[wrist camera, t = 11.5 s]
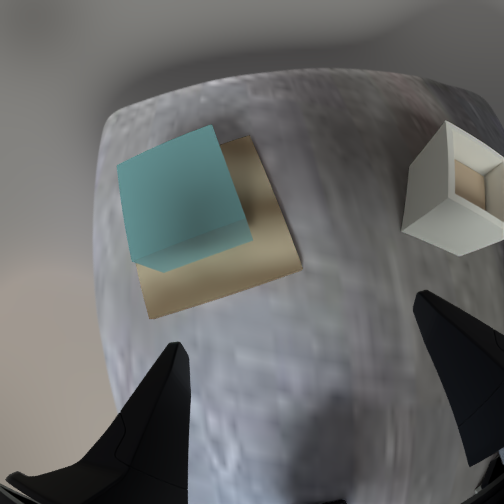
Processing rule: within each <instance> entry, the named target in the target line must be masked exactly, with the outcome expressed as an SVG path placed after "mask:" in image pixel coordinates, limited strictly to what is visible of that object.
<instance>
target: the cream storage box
mask: <svg viewBox="0 0 504 504" xmlns="http://www.w3.org/2000/svg"><path fill="white" fill-rule="evenodd" d="M401 232H403V233H406V234H408V235H411V236H413V237H415V238H418V239H420V240H423V241H425V242H427V243H430V244H432V245H434V246H437V247H439V248H441V249H444V250H446V251H448V252H450V253H452V254H455V255H457V256H462V255H465V254H467V253H470V252H473V251H476V250H478V249H481V248H484V247H486V246H489V245H491V244H494V243H496V242H499V241H501V240H504V157H503V156H501V155H500V154H498V153H497V152H496V151H494V150H493V149H491V148H490V147H489V146H487V145H486V144H484V143H483V142H481V141H479V140H478V139H476V138H475V137H473V136H472V135H470V134H468V133H467V132H465V131H463V130H462V129H460V128H458V127H457V126H455V125H453V124H451V123H449V122H448V121H446V120H445V122H444V123H443V124H442V126H441V127H440V128H439V130H438V131H437V132H436V134H435V135H434V136H433V137H432V139H431V140H430V141H429V142H428V144H427V145H426V146H425V147H424V149H423V150H422V151H421V152H420V154H419V155H418V156H417V157H416V159H415V160H414V161H413V162H412V163H411V165H410V166H409V174H408V184H407V193H406V201H405V208H404V215H403V222H402V228H401Z"/></svg>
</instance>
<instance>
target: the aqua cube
mask: <svg viewBox="0 0 504 504" xmlns="http://www.w3.org/2000/svg"><path fill="white" fill-rule="evenodd" d="M117 172H118V181H119V189H120V197H121V204H122V211H123V217H124V223H125V229H126V234H127V240H128V245H129V250H130V255H131V260H132V262H135V263H137V264H140V265H143V266H146V267H148V268H151V269H154V270H157V271H160V272H163V273H165V272H168V271H170V270H173V269H176V268H178V267H181V266H184V265H187V264H189V263H192V262H195V261H198V260H200V259H203V258H206V257H209V256H211V255H214V254H217V253H220V252H222V251H225V250H228V249H231V248H234V247H236V246H239V245H242V244H245V243H248V242H250V241H253V238H252V235H251V232H250V229H249V226H248V223H247V220H246V217H245V214H244V211H243V209H242V206H241V203H240V200H239V198H238V195H237V192H236V189H235V187H234V184H233V181H232V178H231V176H230V173H229V170H228V167H227V165H226V162H225V159H224V156H223V154H222V151H221V148H220V145H219V143H218V140H217V137H216V135H215V132H214V129H213V126H212V124H211V125H208V126H206V127H203V128H200V129H198V130H195V131H192V132H190V133H187V134H185V135H182V136H180V137H177V138H175V139H172V140H170V141H168V142H165V143H163V144H161V145H158V146H156V147H154V148H152V149H150V150H147V151H145V152H143V153H141V154H139V155H137V156H135V157H133V158H131V159H129V160H127V161H125V162H123V163H121V164H119V165H117Z"/></svg>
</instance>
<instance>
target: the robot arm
mask: <svg viewBox="0 0 504 504" xmlns="http://www.w3.org/2000/svg"><path fill="white" fill-rule="evenodd" d="M413 313H414V315H415V318H416V321H417V323H418V326H419V329H420V332H421V334H422V337H423V340H424V343H425V345H426V348H427V350H428V352H429V354H430V356H431V359H432V361H433V363H434V366H435V368H436V370H437V373H438V375H439V377H440V380H441V382H442V385H443V387H444V390H445V392H446V395H447V397H448V400H449V403H450V406H451V408H452V411H453V414H454V417H455V420H456V423H457V426H458V429H459V433H460V436H461V439H462V442H463V446H464V449H465V453H466V457H467V461H468V464H469V467H471V466H473V465H475V464H477V463H479V462H480V461H482V460H484V459H486V458H487V457H489V456H491V455H492V454H494V453H496V452H497V451H498V453H499V455H498V456H497V457H496V458H494V459H493V460H492V461H490V464H489V466H488V469H487V472H486V474H485V477H484V479H483V482H482V484H481V489H482V490H481V491H479V492H478V493H476V494H475V495H473V496H472V497H470V498H469V499H467V500H466V501H464V502H463V503H461V504H504V335H503V334H501V333H499V332H498V331H496V330H493V328H491V327H490V326H488V325H486V324H485V323H483V322H481V321H480V320H478V319H477V318H475V317H473V316H472V315H470V314H468V313H467V312H465V311H463V310H461V309H460V308H458V307H456V306H455V305H453V304H451V303H449V302H448V301H446V300H444V299H442V298H441V297H439V296H437V295H435V294H434V293H432V292H430V291H428V290H423V291H420V292H418V293H417V294H416V298H415V302H414V305H413ZM190 404H191V387H190V367H189V356H188V354H187V352H186V351H185V349H184V347H183V345H182V344H181V343H180V342H171V343H169V344H168V345H167V346H166V348H165V349H164V351H163V352H162V353H161V355H160V356H159V357H158V359H157V360H156V362H155V363H154V364H153V366H152V367H151V369H150V370H149V371H148V373H147V374H146V376H145V377H144V378H143V380H142V381H141V383H140V384H139V386H138V387H137V388H136V390H135V391H134V393H133V394H132V395H131V397H130V398H129V400H128V401H127V403H126V404H125V405H124V407H123V408H122V410H121V413H119V414H118V415H117V417H116V418H115V420H114V421H113V422H112V424H111V425H110V426H109V428H108V429H107V430H106V431H105V433H104V434H103V435H102V436H101V437H100V439H99V440H98V441H97V442H96V443H95V444H94V446H93V447H92V448H91V449H90V450H89V451H88V452H87V454H86V455H85V456H84V457H83V458H82V459H81V460H80V461H78V462H77V463H75V464H73V465H71V466H68V467H65V468H62V469H59V470H56V471H52V472H49V473H45V474H42V475H38V476H27V475H25V474H23V473H21V472H18V471H17V472H14V473H12V474H10V475H9V476H8V477H7V478H6V479H5V480H6V481H7V482H8V483H9V484H11V485H12V486H13V487H15V488H17V489H18V490H19V491H21V492H22V493H24V494H26V495H27V496H29V497H30V498H29V497H27V496H25V495H23V494H20V493H18V492H16V491H14V490H12V489H10V488H8V487H6V486H4V485H2V484H0V504H188V490H187V489H188V447H189V423H190ZM341 503H343V504H347V503H346V500H338V501H334V502H329V503H324V504H341Z"/></svg>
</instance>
